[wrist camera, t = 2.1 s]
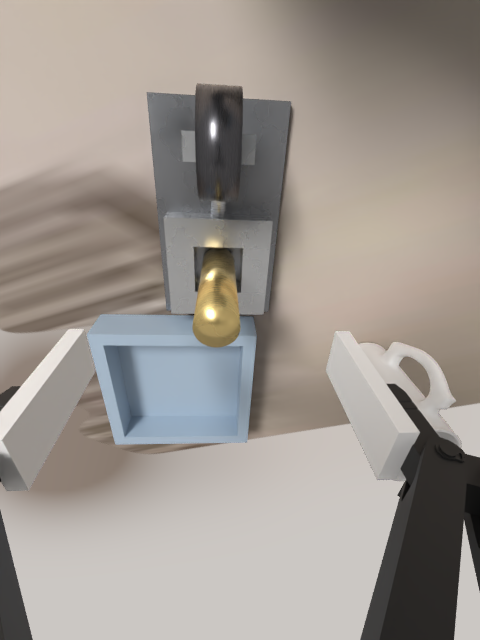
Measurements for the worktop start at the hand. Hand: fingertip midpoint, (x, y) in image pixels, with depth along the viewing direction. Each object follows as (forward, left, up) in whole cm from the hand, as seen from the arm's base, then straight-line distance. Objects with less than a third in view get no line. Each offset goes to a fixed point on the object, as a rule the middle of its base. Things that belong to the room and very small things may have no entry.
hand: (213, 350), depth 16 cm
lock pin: (0, 0, -13) cm, 13 cm away
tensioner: (-4, 0, -13) cm, 14 cm away
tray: (+13, -4, -13) cm, 19 cm away
